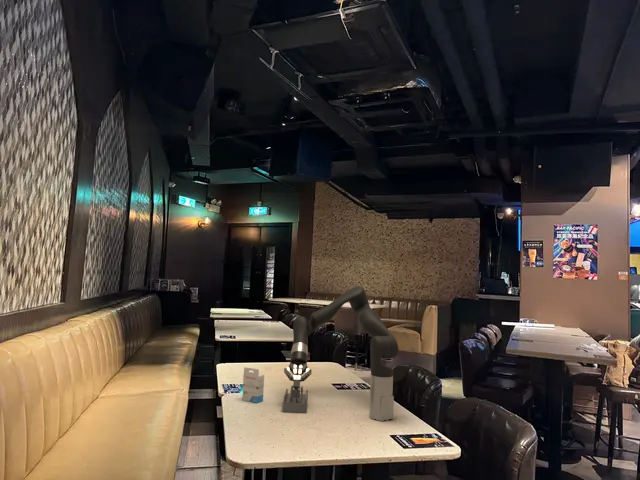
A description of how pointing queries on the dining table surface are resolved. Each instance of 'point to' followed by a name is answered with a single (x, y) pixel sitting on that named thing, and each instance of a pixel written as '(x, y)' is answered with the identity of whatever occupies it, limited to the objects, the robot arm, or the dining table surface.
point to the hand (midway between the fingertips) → (296, 388)
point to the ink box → (252, 385)
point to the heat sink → (295, 401)
